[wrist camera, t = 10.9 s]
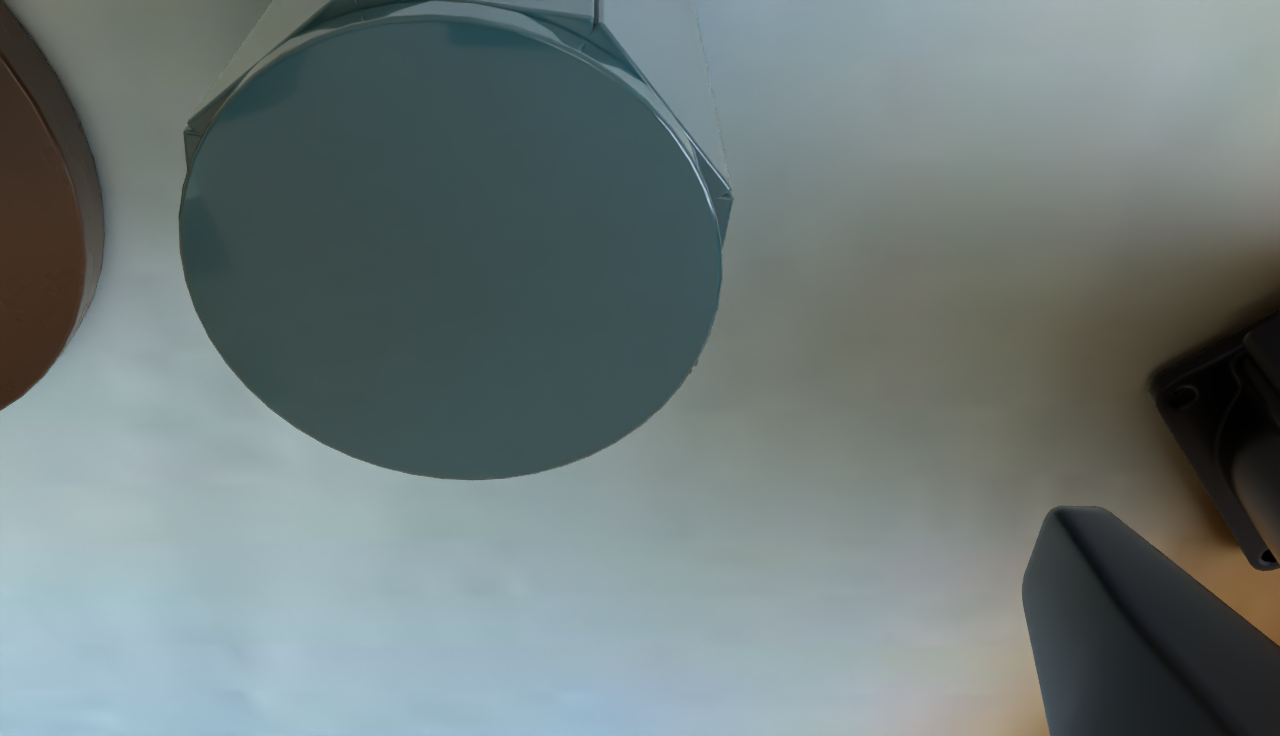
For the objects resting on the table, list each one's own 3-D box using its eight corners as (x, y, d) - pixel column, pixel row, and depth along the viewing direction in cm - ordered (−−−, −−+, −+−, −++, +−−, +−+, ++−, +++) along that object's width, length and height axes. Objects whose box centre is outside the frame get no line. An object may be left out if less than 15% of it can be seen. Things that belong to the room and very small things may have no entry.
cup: (757, 85, 19) (823, 322, 13) (482, 275, 21) (439, 550, 15) (522, -240, 16) (478, -117, 10) (229, 16, 18) (58, 238, 12)
